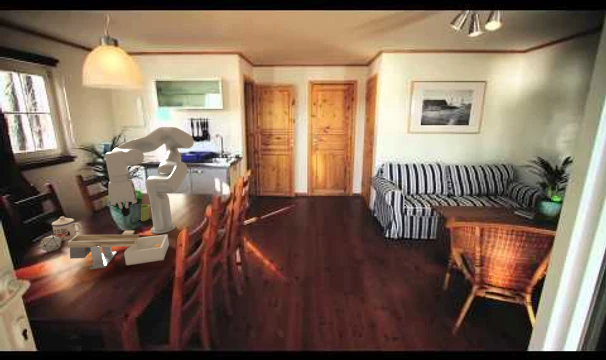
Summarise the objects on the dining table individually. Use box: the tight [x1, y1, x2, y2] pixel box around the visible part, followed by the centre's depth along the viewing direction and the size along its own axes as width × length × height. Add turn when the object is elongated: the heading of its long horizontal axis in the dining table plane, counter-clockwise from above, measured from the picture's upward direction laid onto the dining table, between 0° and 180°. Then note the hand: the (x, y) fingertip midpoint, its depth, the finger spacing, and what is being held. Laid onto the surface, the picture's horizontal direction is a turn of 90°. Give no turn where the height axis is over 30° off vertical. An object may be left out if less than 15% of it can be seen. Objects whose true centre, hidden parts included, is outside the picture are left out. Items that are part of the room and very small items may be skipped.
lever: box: [67, 229, 140, 259], centre depth 120 cm, size 16×24×8 cm, turn 108°
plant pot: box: [140, 204, 151, 222], centre depth 164 cm, size 9×9×9 cm
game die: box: [36, 233, 64, 255], centre depth 125 cm, size 9×8×10 cm
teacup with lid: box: [51, 216, 83, 242], centre depth 140 cm, size 12×9×12 cm
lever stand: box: [88, 245, 117, 271], centre depth 117 cm, size 13×6×10 cm, turn 18°
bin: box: [123, 233, 170, 266], centre depth 122 cm, size 15×15×6 cm
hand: (126, 215), depth 126 cm, fingers closed
